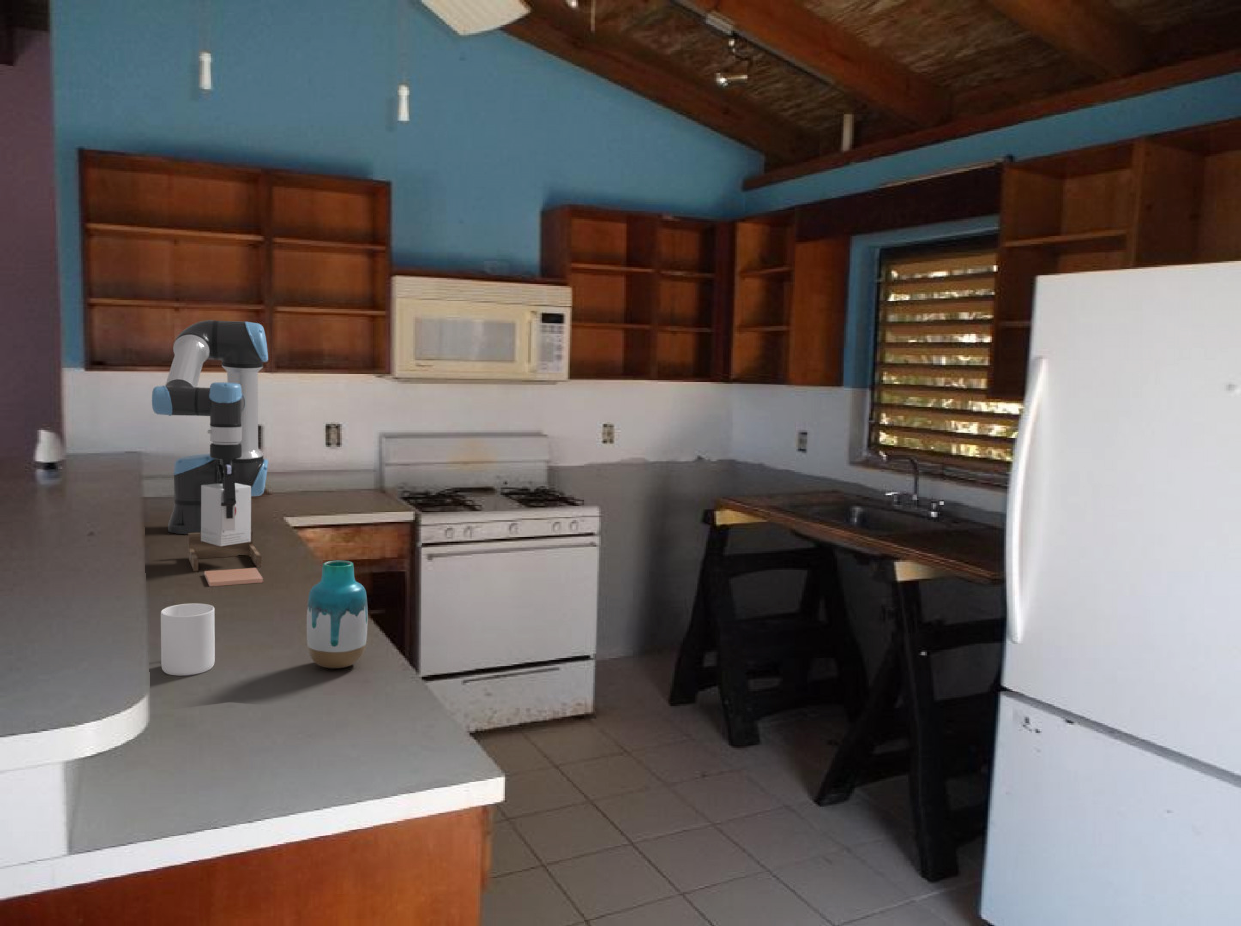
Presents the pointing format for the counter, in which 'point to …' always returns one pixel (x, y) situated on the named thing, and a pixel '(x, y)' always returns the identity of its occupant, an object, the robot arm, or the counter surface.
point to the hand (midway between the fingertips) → (226, 526)
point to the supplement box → (214, 515)
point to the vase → (337, 617)
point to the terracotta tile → (233, 577)
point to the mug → (187, 639)
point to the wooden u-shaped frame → (219, 550)
